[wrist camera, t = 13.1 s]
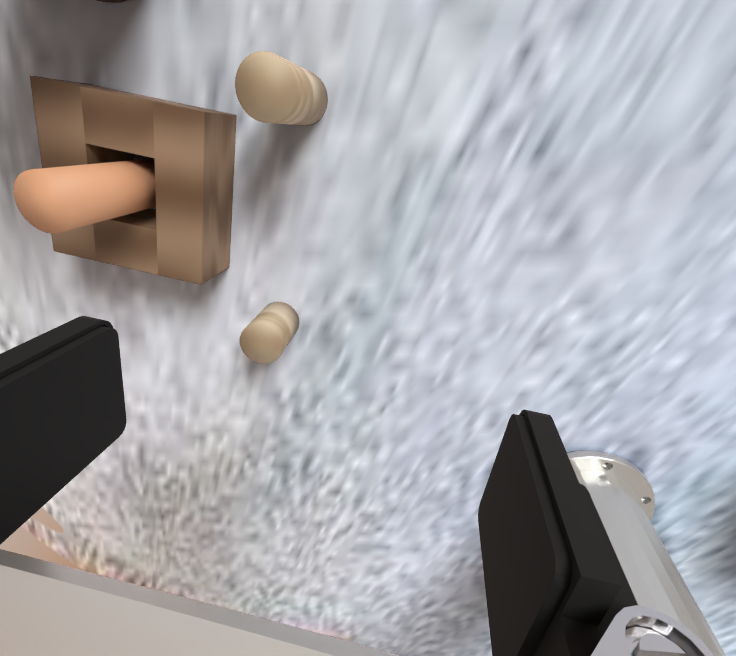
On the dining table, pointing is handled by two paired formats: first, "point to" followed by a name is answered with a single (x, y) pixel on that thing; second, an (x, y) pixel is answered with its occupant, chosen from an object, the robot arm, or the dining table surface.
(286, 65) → the medium pin
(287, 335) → the short pin
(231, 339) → the dining table surface
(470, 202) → the dining table surface
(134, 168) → the long pin
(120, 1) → the olive oil
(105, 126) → the hole block
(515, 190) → the dining table surface
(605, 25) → the dining table surface
